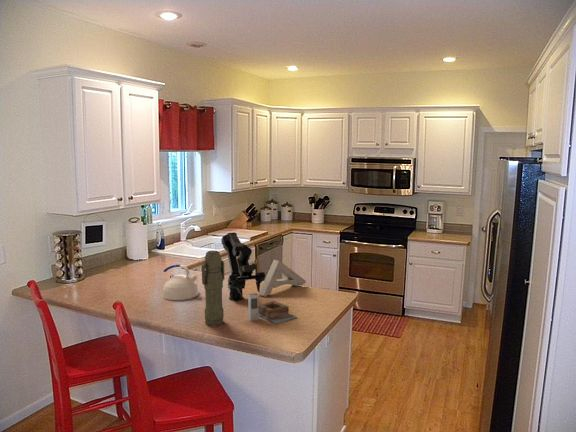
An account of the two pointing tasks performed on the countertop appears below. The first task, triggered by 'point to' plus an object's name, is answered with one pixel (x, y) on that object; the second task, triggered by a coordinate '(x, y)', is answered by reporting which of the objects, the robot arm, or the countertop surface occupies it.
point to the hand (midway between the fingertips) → (250, 292)
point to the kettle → (180, 286)
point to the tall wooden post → (253, 306)
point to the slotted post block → (275, 312)
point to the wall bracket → (274, 282)
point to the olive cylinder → (213, 287)
